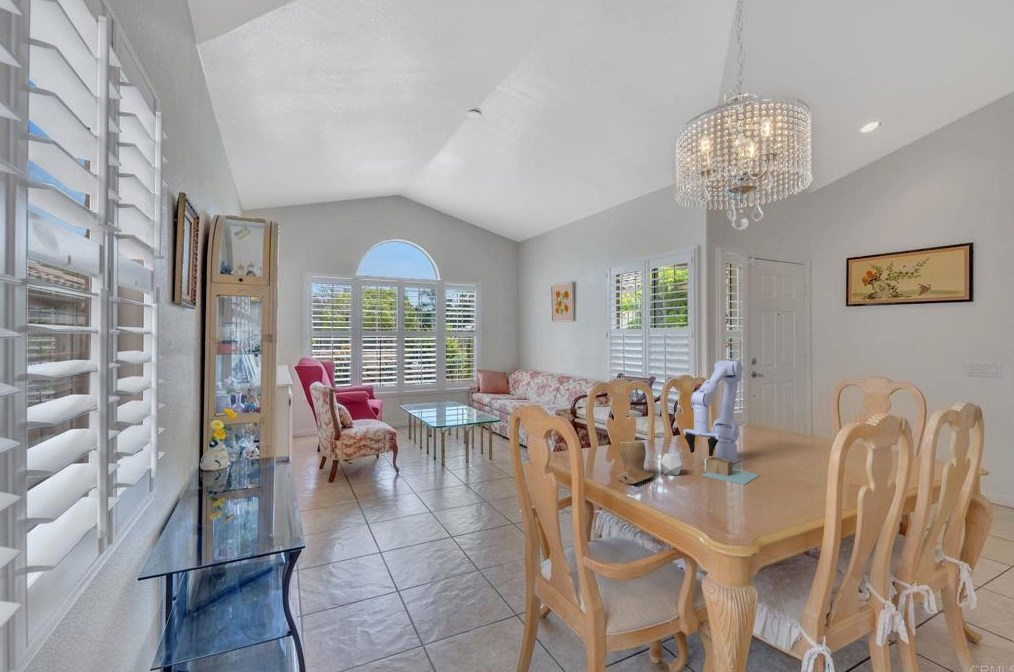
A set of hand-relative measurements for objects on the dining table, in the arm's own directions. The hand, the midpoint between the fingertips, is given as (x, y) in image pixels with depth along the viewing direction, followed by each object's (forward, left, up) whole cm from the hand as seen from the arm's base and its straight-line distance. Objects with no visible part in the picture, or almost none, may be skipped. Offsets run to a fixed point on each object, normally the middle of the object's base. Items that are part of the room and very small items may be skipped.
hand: (701, 454), depth 192 cm
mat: (0, +11, -6) cm, 13 cm away
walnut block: (0, +2, -4) cm, 4 cm away
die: (+14, -6, -7) cm, 17 cm away
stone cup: (+31, -13, -7) cm, 34 cm away
